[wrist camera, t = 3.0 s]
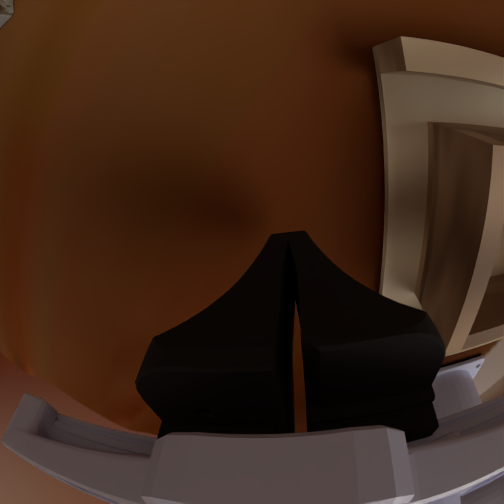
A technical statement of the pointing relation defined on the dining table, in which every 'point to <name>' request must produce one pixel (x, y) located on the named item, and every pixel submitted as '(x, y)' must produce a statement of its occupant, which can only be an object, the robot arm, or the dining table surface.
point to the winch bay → (424, 137)
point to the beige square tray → (464, 234)
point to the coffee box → (6, 11)
